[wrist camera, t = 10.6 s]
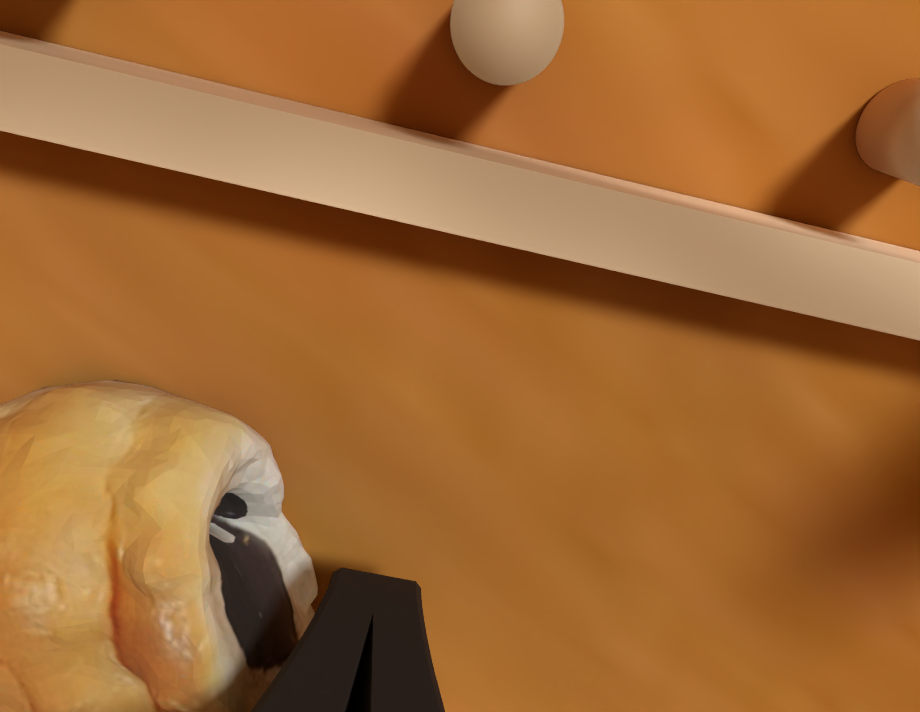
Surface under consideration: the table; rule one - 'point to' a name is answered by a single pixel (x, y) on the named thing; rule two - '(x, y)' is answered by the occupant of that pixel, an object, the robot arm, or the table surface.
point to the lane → (478, 171)
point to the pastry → (142, 555)
